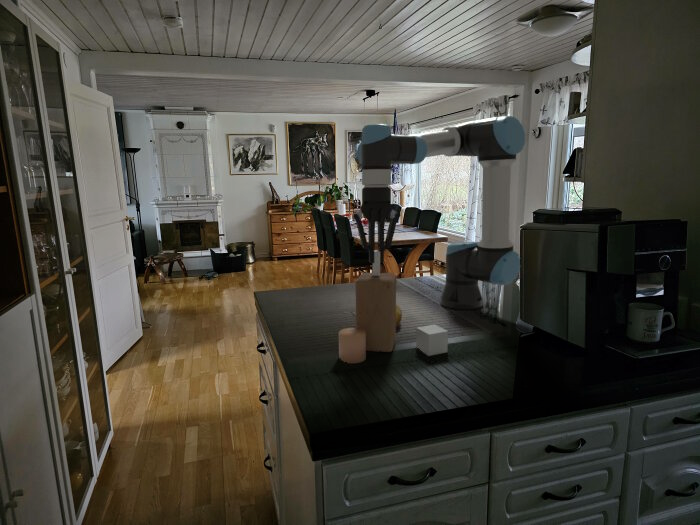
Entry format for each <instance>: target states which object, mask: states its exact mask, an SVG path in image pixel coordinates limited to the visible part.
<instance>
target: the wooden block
mask: <svg viewBox="0 0 700 525" xmlns="http://www.w3.org/2000/svg"><path fill="white" fill-rule="evenodd" d="M396 304H397V275H396V274H395V273H387V272H380V276H375V275H373V272H363V273H361V274H360V275H359V276H358V278H357V279H356V280H355V328H359V329H363V330H365V331H366V352H367V351H368V352H380V351H381V353H391V352H392V351H393V350H394V345H395V343H396V340H397V339H396V338H397V337H396V336H397V332H396V331H397V330H396V328H397V326H396Z"/></svg>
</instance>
